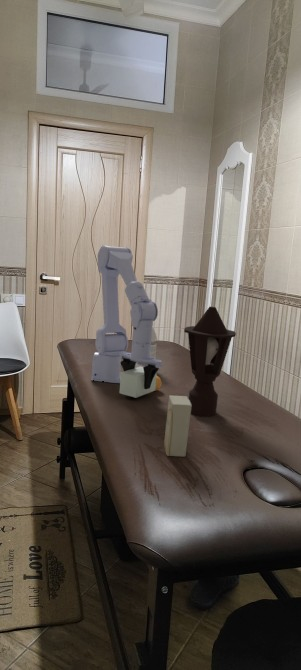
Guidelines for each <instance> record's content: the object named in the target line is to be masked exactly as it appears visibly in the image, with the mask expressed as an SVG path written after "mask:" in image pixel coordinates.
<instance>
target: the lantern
mask: <svg viewBox="0 0 301 670" xmlns="http://www.w3.org/2000/svg"><path fill="white" fill-rule="evenodd" d="M184 333H186V334H187V335H188V336H187V337H188V345H189V357H190V366H191V373H192V374H193V375H194V379H195V380H196V381H195V383H194V386H193V388H191V389H190V390H189V391H188V399H189V401H190V403H191V405H192V407H191V415H193V416H197V417H204V418H205V417H213V416H215V415H216V414H217V408H218V407H217V406H218V398H219V397H218V396H219V394H218V392H217V391H216V390H215V387H214V382H215V381H216V379H217V378H218V377H220V375H221V372H222V369H223V366H224V363H225V360H226V356H227V355H228V350H229V348H230V344H231V341H232V339H233V338H235V337H236V336H237V335H236V334H237V333H236V331H235V330H230V329H227V328H226V325H225V323H224V322H223V320H222V318H221V316H220V314H219V311H218V310H217V308H216V306H209V307H208V308H207V310H206V311H205V312H204V314H203V315H202V316H201V318H200V319H199V320H198V322H197V323H196V325H191V326H186V327H184Z"/></svg>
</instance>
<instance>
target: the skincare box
mask: <svg viewBox="0 0 301 670" xmlns="http://www.w3.org/2000/svg"><path fill="white" fill-rule="evenodd" d="M191 407H192V405H191V403H190V401H189V396H187V395H172V394H169V395H168V404H167V414H166V423H165V433H164V442H163V445H164V450H165V455H166V456H167V457H181V458H182V457H184V458H185V457H186V454H187V445H188V438H189V431H190V420H191V415H192V414H191Z"/></svg>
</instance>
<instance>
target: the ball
mask: <svg viewBox="0 0 301 670" xmlns="http://www.w3.org/2000/svg"><path fill="white" fill-rule="evenodd" d="M161 386H162V379H161V378H160V376H158V375H156V387H155V391H159V389H161Z"/></svg>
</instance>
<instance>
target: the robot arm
mask: <svg viewBox="0 0 301 670" xmlns="http://www.w3.org/2000/svg"><path fill="white" fill-rule="evenodd" d="M132 252H133V251H132V249H131V248H130V247H128V246H125V247H124V246H123V247H121V246H109V245H104V244H103V245H101V246H100V248H99V250H98V253H97V268H98V273H100V274H101V287H102V288H101V289H102V290H101V291H102V307H103V308H102V311H103V325H102V326H100V327H99V328H98V329H97V330H96V335H95V341H94V343H95V349H96V350H97V352H96V351H95V352H94V354H93V357H92V364H91V365H92V367H91V379H90V380H91V381H93V380H94V382H102V381H104V383H111V384H112V383H113V384H120V377H121V372H122V369H123V372H124V371H127V370H131V369H134V368H136V362H138V363H142V364H146V365H148V366H145V367H143V369H144V376H145V380H144V389H149V388H150V386H151V383H152V380H153V378H154V376H155V374H156V372H157V373H158V371H159V370H160V368H162V367H163V360H160V359H157V358H156V357H155V358H153V357H150V351H151V339H152V327H153V326H154V321H156V320H157V318H158V315H159V309H158V306H157V303H156V302H154V301H153V300H152V299H151V298H149V296H148V294H147V292H146V289H145V287H144V285H143V283H142V282H140V281H138V280H137V277H136V273H135V271H134V268H133V265H132V263H133V259H134V255H133V253H132ZM119 275H120V276H121V278H122V280H123V282H124V284H125V286H126V287H125V289H124V292H125V295H126V297H127V300H128V302H129V304H130V306H131V308H130V312H129V313H130V319H131V326H132V337H131V340H132V341H131V352H127V350H128V347H129V339H128V336H127V330H126V328H124V326H122V325H121V324H120V311H119V293H118V291H119V290H118V289H119V287H118V276H119Z"/></svg>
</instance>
